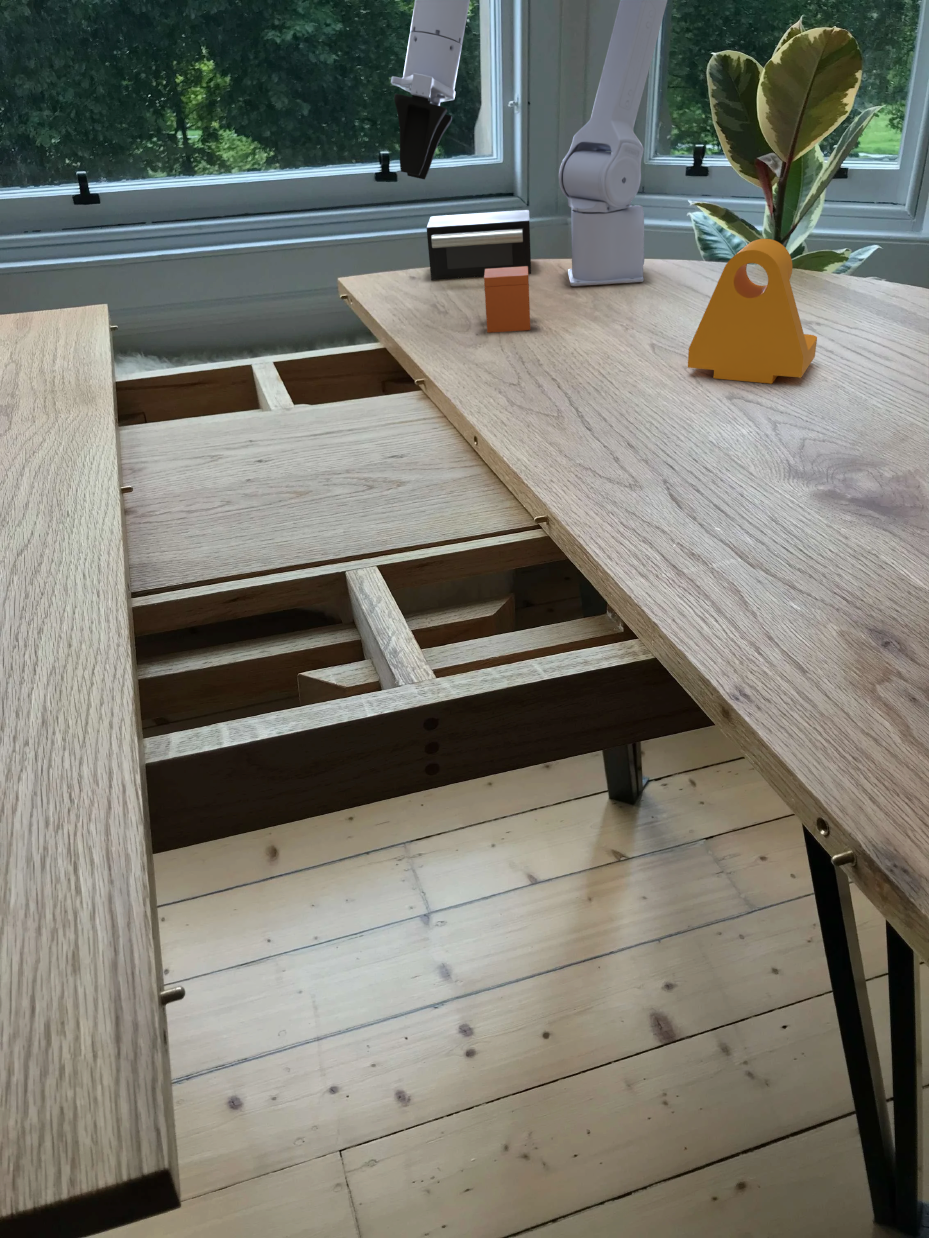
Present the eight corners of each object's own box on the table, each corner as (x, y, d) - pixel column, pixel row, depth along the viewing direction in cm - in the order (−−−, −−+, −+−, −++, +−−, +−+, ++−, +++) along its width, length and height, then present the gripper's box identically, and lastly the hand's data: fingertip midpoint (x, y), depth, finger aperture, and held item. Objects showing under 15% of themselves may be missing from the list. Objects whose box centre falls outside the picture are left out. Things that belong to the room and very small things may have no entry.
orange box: (529, 319, 116) (528, 266, 113) (530, 330, 113) (528, 275, 109) (488, 322, 117) (484, 268, 113) (487, 333, 113) (483, 277, 110)
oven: (530, 261, 142) (528, 209, 139) (531, 283, 131) (529, 228, 127) (435, 267, 143) (430, 216, 140) (428, 290, 132) (423, 235, 128)
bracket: (815, 362, 96) (831, 234, 90) (800, 386, 91) (815, 252, 85) (708, 353, 101) (715, 231, 95) (687, 375, 96) (694, 248, 89)
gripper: (406, 44, 112) (385, 172, 117) (392, 17, 98) (369, 163, 103) (466, 58, 112) (443, 185, 117) (460, 33, 98) (435, 177, 103)
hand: (413, 175), depth 110 cm, fingers open, 7 cm apart
